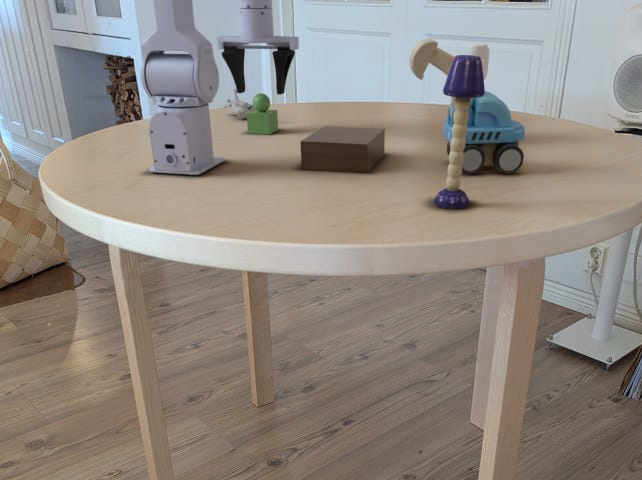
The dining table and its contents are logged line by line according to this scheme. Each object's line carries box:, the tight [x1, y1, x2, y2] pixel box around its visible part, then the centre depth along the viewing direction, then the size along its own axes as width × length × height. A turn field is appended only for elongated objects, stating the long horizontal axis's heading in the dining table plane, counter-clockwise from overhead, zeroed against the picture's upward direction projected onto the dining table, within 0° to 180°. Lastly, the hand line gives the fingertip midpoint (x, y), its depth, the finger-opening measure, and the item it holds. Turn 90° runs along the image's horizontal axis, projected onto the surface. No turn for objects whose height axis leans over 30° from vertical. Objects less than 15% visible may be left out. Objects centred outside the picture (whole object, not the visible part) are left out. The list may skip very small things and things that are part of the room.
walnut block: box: [300, 125, 386, 174], centre depth 100 cm, size 12×10×4 cm
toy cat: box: [223, 87, 255, 120], centre depth 134 cm, size 8×5×12 cm
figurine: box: [468, 43, 490, 80], centre depth 112 cm, size 7×9×15 cm
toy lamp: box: [433, 54, 486, 210], centre depth 77 cm, size 5×5×17 cm
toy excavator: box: [409, 38, 526, 175], centre depth 93 cm, size 9×17×17 cm, turn 91°
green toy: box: [246, 92, 279, 135], centre depth 122 cm, size 4×4×7 cm
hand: (260, 93), depth 120 cm, fingers open, 7 cm apart
